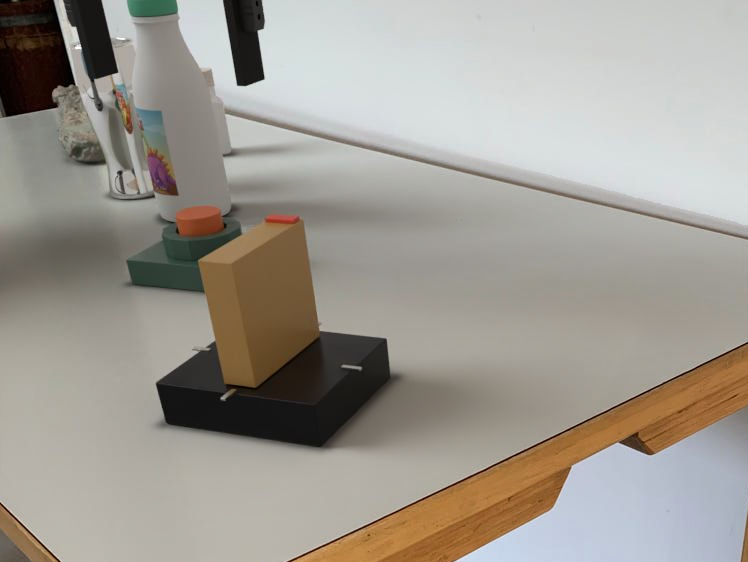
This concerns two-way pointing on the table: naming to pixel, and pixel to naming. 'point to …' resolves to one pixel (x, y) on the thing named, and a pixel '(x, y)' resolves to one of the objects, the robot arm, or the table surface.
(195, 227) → the button
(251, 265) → the tan wooden block
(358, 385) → the black base
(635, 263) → the table surface
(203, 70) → the pepper shaker
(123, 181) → the beer glass
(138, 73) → the milk bottle
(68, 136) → the long grey stone
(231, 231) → the button block
